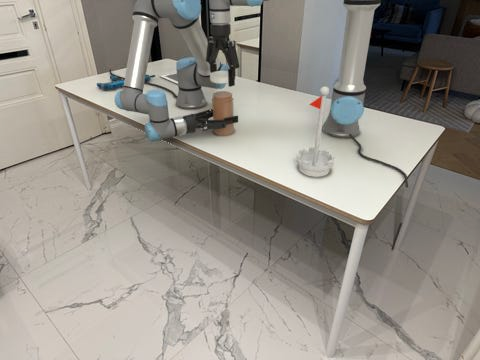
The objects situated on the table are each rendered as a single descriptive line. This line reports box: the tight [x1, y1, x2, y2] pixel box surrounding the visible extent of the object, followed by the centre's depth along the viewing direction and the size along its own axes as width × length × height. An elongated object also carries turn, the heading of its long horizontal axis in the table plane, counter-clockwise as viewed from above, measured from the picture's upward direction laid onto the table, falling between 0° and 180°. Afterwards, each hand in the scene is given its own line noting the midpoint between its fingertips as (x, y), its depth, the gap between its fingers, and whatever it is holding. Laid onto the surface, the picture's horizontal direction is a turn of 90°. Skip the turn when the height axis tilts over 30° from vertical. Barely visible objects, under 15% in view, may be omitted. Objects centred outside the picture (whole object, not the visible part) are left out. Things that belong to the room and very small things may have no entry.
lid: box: [210, 71, 229, 84], centre depth 137 cm, size 10×10×2 cm
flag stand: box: [296, 86, 335, 178], centre depth 114 cm, size 13×13×30 cm
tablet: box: [159, 71, 178, 85], centre depth 214 cm, size 32×20×1 cm, turn 41°
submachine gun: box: [96, 74, 156, 91], centre depth 208 cm, size 34×4×25 cm
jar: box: [211, 90, 235, 136], centre depth 145 cm, size 9×9×17 cm
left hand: (232, 115), depth 148 cm, fingers closed on jar, 9 cm apart
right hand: (222, 83), depth 138 cm, fingers closed on lid, 10 cm apart
